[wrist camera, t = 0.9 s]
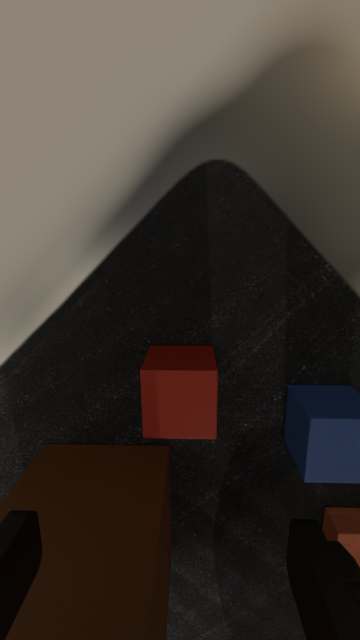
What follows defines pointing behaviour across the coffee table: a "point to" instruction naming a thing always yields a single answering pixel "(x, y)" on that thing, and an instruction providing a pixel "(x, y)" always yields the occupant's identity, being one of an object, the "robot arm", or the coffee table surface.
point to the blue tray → (97, 542)
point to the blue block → (324, 432)
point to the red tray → (343, 528)
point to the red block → (179, 392)
